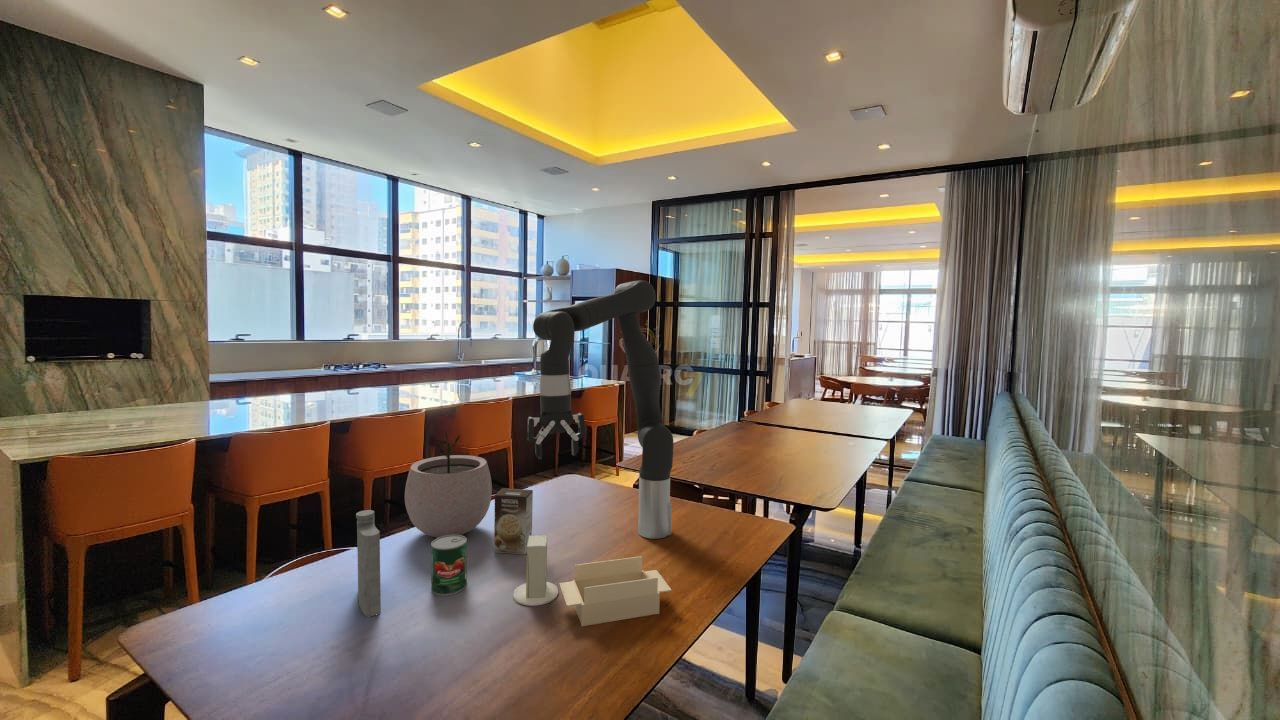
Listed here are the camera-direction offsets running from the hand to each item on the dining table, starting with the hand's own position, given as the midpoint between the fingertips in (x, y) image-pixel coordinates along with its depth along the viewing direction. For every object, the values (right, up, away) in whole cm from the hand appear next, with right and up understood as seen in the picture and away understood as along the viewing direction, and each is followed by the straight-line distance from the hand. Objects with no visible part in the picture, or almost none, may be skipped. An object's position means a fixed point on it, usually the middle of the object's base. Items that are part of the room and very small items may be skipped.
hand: (557, 456), depth 130 cm
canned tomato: (-24, -29, -8) cm, 39 cm away
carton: (+15, -30, -15) cm, 37 cm away
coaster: (-3, -30, -11) cm, 32 cm away
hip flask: (-40, -29, -14) cm, 52 cm away
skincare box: (-3, -29, -11) cm, 31 cm away
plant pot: (-35, -27, +23) cm, 50 cm away
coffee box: (-14, -28, +13) cm, 34 cm away
